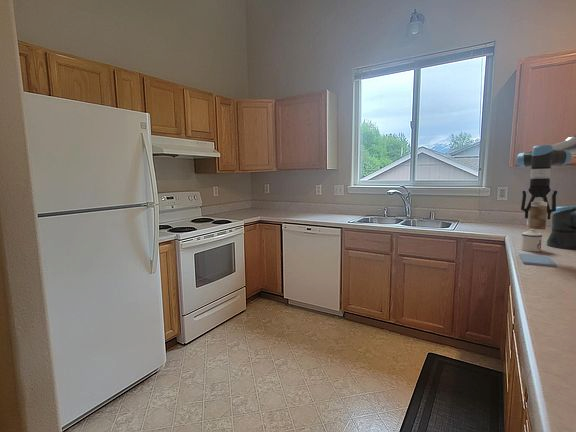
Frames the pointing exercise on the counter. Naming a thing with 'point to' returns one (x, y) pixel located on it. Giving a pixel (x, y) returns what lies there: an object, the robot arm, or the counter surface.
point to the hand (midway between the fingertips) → (536, 225)
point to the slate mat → (537, 260)
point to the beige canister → (538, 215)
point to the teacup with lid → (531, 241)
